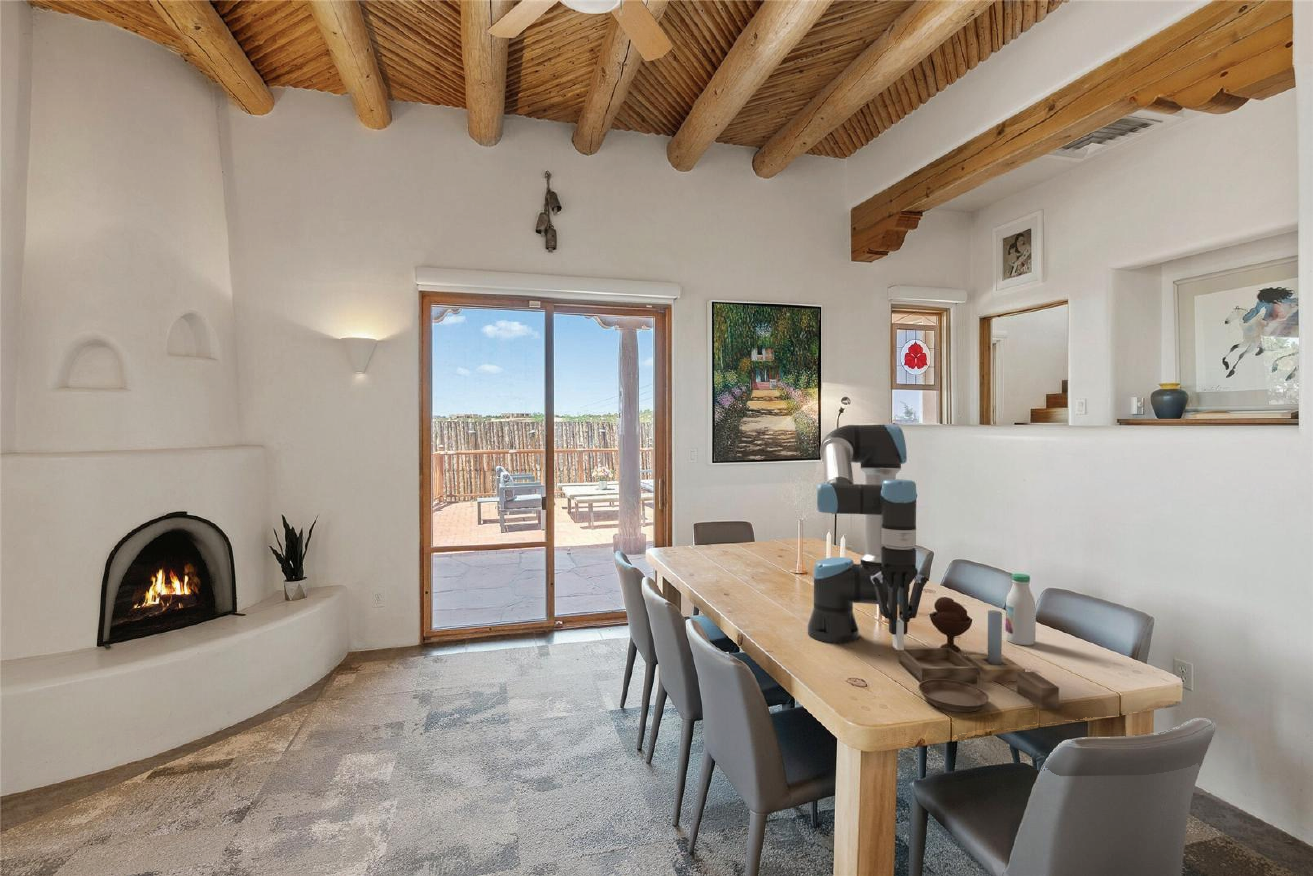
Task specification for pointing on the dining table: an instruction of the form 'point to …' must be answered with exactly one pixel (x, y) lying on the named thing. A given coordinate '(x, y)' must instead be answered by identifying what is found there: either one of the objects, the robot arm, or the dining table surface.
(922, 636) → the dining table surface
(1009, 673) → the socket block
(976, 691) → the saucer
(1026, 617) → the milk bottle
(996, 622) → the dowel
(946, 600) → the ice cream bowl
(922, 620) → the dining table surface
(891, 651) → the dining table surface
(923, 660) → the tray
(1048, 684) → the block
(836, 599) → the robot arm
